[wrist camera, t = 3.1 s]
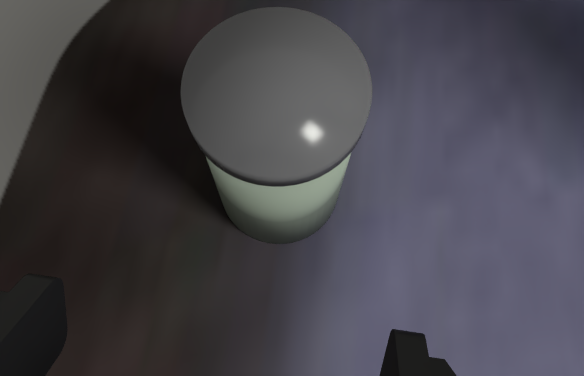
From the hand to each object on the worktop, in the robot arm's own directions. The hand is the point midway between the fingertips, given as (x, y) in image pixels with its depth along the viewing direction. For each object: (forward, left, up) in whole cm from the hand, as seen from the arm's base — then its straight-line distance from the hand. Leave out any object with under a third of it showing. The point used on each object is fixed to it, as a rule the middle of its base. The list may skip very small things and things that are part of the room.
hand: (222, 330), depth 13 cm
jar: (-5, -7, -12) cm, 15 cm away
